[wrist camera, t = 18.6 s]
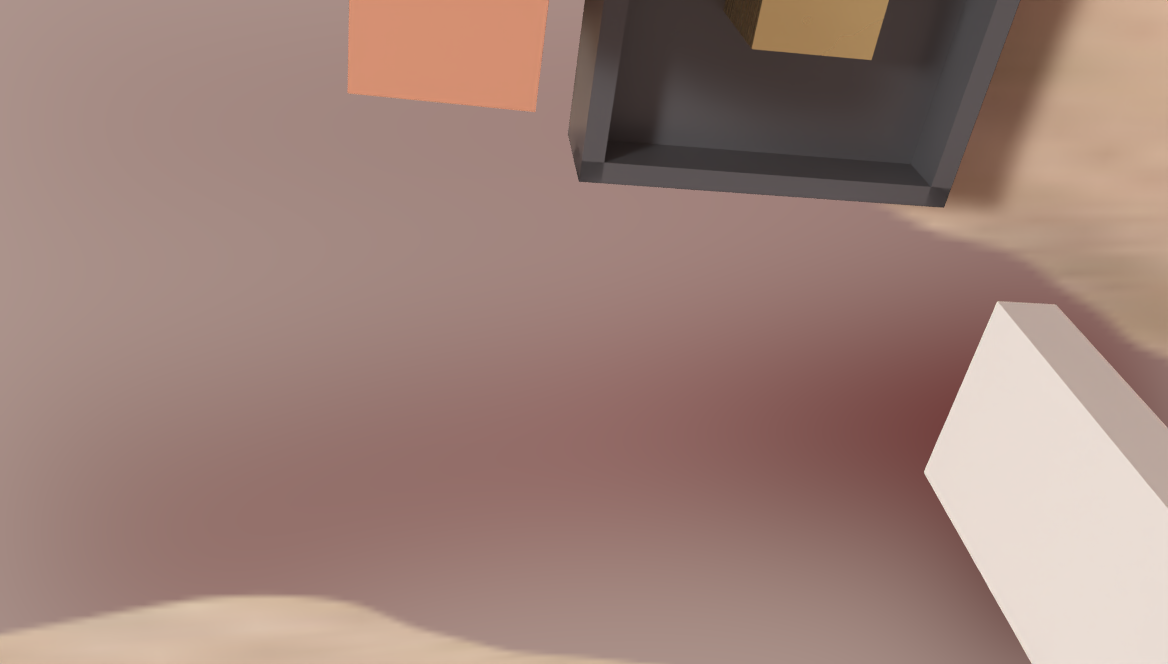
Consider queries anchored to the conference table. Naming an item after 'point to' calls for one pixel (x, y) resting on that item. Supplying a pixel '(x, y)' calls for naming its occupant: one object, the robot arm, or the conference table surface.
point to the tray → (781, 102)
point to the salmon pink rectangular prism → (448, 50)
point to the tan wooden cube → (810, 25)
